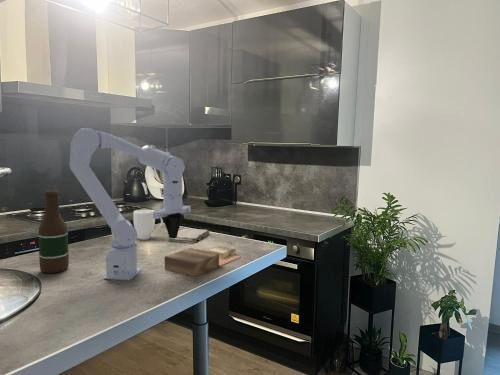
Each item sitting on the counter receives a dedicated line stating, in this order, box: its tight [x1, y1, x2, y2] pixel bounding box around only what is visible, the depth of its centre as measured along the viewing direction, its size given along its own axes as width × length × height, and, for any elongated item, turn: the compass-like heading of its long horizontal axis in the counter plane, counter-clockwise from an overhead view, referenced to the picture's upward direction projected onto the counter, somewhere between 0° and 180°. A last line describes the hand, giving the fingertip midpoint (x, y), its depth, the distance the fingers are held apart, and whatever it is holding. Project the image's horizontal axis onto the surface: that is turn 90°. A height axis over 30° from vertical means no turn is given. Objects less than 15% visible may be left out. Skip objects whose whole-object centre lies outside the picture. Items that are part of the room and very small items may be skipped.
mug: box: [132, 208, 164, 241], centre depth 149 cm, size 12×8×11 cm
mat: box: [207, 250, 242, 267], centre depth 125 cm, size 12×13×1 cm
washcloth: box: [167, 228, 210, 245], centre depth 152 cm, size 12×18×3 cm, turn 166°
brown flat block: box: [164, 247, 220, 278], centre depth 115 cm, size 12×12×4 cm
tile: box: [208, 244, 237, 259], centre depth 128 cm, size 8×6×2 cm
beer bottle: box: [37, 189, 70, 274], centre depth 109 cm, size 8×8×24 cm
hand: (172, 237), depth 114 cm, fingers closed
